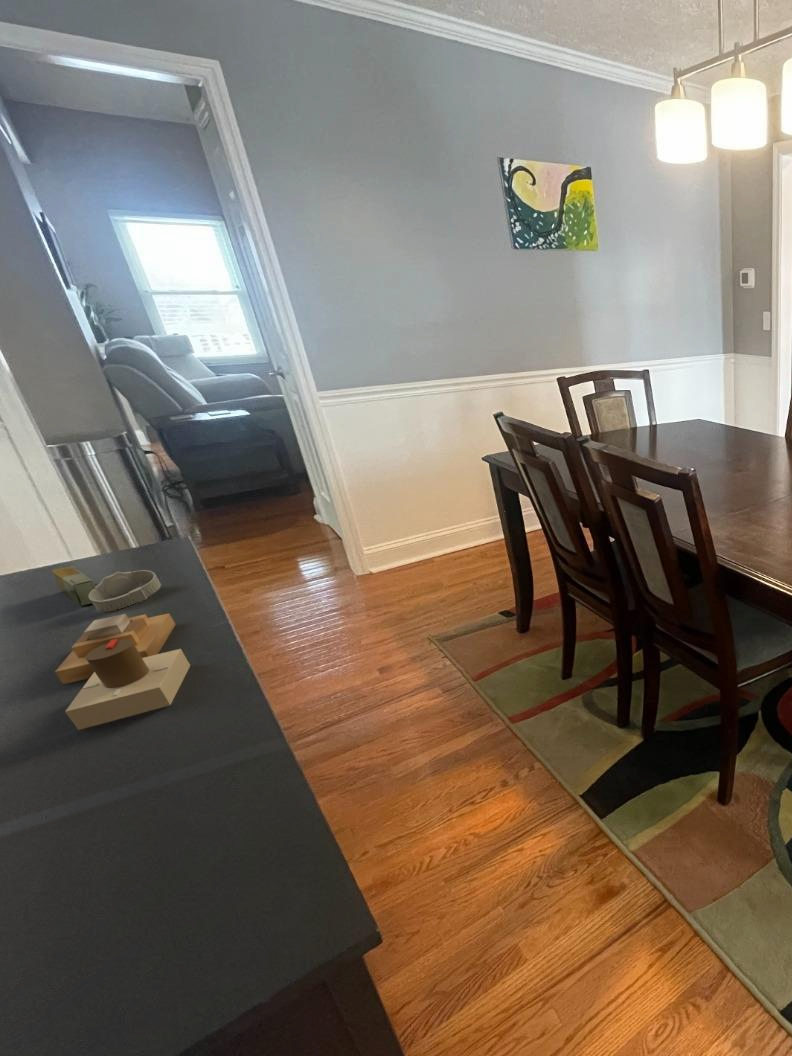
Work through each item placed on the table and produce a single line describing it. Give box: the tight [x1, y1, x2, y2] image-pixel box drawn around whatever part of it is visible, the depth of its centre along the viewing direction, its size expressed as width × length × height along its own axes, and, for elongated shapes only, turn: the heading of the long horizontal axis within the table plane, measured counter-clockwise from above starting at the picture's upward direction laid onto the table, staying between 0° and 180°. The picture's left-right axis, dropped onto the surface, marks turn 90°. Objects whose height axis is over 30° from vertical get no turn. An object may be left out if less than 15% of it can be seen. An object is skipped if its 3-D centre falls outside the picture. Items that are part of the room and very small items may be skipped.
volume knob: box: [85, 639, 149, 688], centre depth 77 cm, size 4×4×5 cm
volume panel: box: [64, 648, 191, 731], centre depth 79 cm, size 9×10×3 cm
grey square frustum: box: [83, 613, 131, 640], centre depth 87 cm, size 4×4×2 cm
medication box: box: [51, 565, 97, 607], centre depth 105 cm, size 12×3×4 cm, turn 59°
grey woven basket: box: [88, 569, 162, 613], centre depth 103 cm, size 9×6×5 cm
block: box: [54, 612, 177, 685], centre depth 88 cm, size 10×12×4 cm
